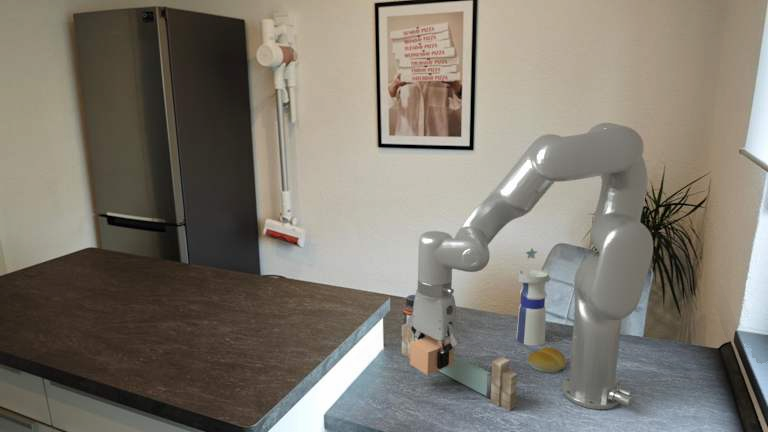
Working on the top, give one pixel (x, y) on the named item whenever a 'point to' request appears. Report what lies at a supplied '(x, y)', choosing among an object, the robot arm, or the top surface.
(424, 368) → the block
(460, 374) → the pale green flat bar
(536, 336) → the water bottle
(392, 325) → the top surface
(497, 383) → the wooden block fence
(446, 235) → the robot arm
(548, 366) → the bread roll
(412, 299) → the supplement bottle
